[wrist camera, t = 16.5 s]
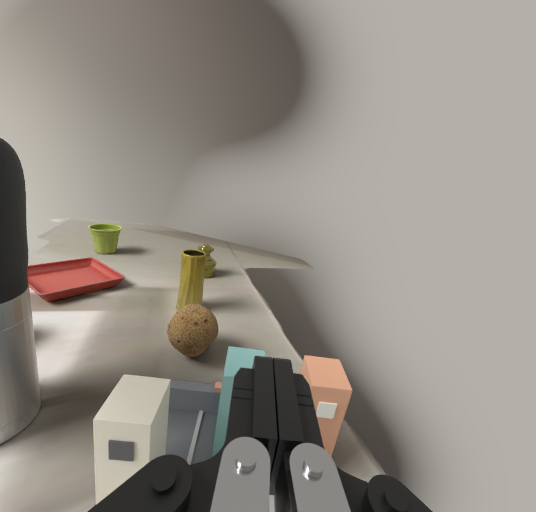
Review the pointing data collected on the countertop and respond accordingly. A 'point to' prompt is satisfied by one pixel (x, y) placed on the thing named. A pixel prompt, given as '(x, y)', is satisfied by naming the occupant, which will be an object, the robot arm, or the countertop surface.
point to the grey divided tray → (195, 422)
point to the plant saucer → (71, 278)
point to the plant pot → (105, 237)
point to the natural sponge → (192, 329)
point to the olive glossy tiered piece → (208, 261)
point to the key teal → (233, 363)
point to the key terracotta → (327, 395)
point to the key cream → (129, 430)
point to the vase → (191, 278)
